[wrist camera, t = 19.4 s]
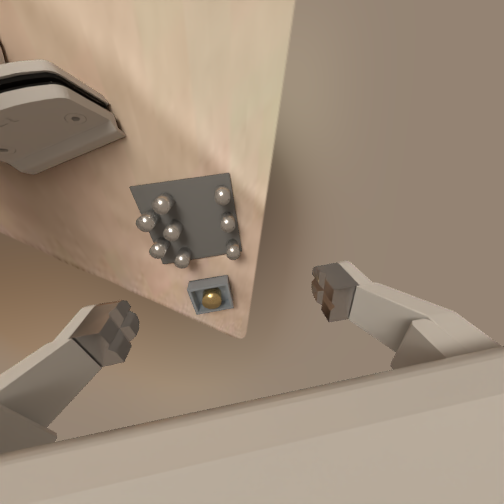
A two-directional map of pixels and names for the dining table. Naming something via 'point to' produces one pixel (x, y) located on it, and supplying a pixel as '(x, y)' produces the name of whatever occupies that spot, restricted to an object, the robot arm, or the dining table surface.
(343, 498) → the robot arm
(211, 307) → the knob
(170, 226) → the spacers
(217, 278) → the tray
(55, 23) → the dining table surface
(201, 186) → the mat
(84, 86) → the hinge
